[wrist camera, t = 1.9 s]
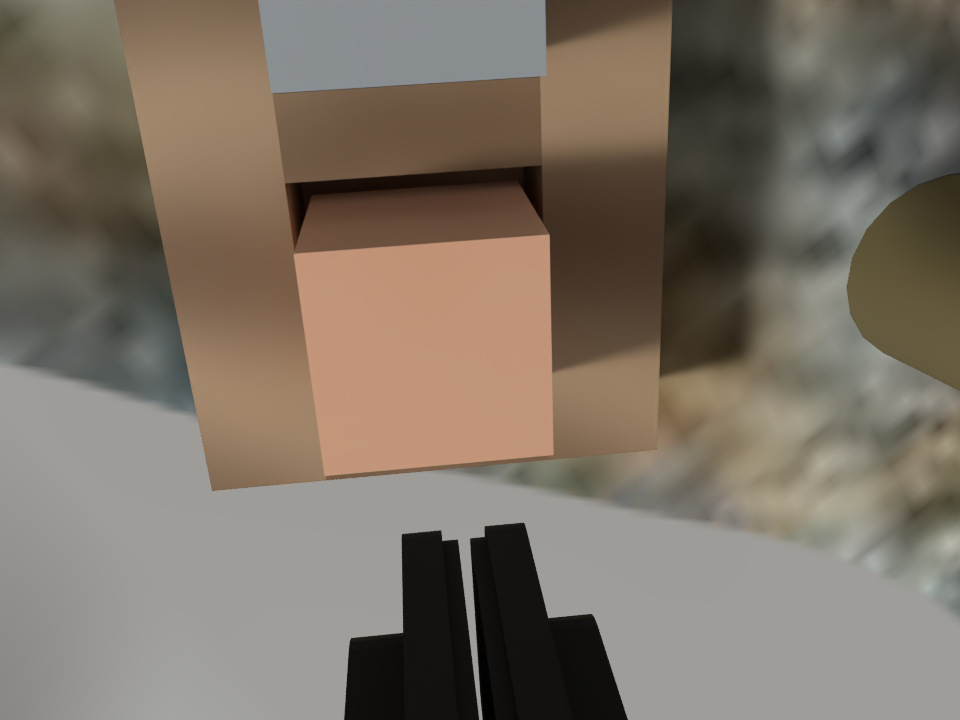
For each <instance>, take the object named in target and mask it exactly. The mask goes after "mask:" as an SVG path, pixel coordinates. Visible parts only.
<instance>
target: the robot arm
mask: <svg viewBox="0 0 960 720" xmlns="http://www.w3.org/2000/svg"><path fill="white" fill-rule="evenodd" d="M470 545H471V560H472V575H473V589H474V590H473V591H474V606H475V619H476V620H475V621H476V635H477V649H478V650H477V651H478V666H479V681H480V696H481V707H482V717H483V720H628V719H627V716H626V713H625V710H624V707H623V704H622V700H621V697H620V695H619V691H618V688H617V685H616V682H615V679H614V676H613V673H612V670H611V666H610V663H609V660H608V657H607V654H606V651H605V647H604V644H603V641H602V638H601V635H600V632H599V629H598V626H597V623H596V621H595V618H594V616H593V615H592V614H587V615H578V616H567V617H557V618H548V616H547V612H546V607H545V604H544V599H543V595H542V591H541V587H540V583H539V579H538V575H537V571H536V567H535V563H534V559H533V555H532V551H531V547H530V543H529V538H528V534H527V531H526V527H525V524H524V523H516V524H505V525H495V526H485V537H480V538H471V539H470ZM402 582H403V633H399V634H388V635H378V636H368V637H359V638H351V640H350V645H349V658H348V673H347V687H346V703H345V718H344V720H479V715H478V706H477V698H476V689H475V681H474V673H473V664H472V656H471V647H470V638H469V630H468V621H467V613H466V605H465V596H464V588H463V579H462V571H461V562H460V554H459V545H458V540H449V541H442V534H441V531H430V532H419V533H409V534H402Z"/></svg>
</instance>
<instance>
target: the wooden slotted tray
mask: <svg viewBox="0 0 960 720" xmlns="http://www.w3.org/2000/svg"><path fill="white" fill-rule="evenodd" d="M114 3H115V8H116V13H117V18H118V23H119V28H120V33H121V38H122V43H123V48H124V53H125V58H126V63H127V68H128V73H129V78H130V83H131V88H132V93H133V98H134V103H135V108H136V113H137V118H138V123H139V128H140V133H141V138H142V143H143V148H144V153H145V158H146V163H147V168H148V173H149V178H150V183H151V188H152V193H153V198H154V203H155V208H156V213H157V218H158V223H159V228H160V233H161V238H162V243H163V248H164V253H165V258H166V263H167V268H168V273H169V277H170V282H171V287H172V292H173V297H174V302H175V307H176V312H177V317H178V322H179V327H180V332H181V337H182V342H183V347H184V352H185V357H186V362H187V367H188V372H189V377H190V382H191V387H192V392H193V397H194V402H195V407H196V412H197V417H198V422H199V427H200V432H201V437H202V442H203V447H204V452H205V457H206V462H207V467H208V471H209V477H210V482H211V487H212V491H215V490H225V489H235V488H236V489H237V488H248V487H257V486H269V485H279V484H291V483H302V482H312V481H322V480H334V479H345V478H356V477H367V476H378V475H388V474H399V473H410V472H421V471H432V470H443V469H454V468H464V467H475V466H486V465H497V464H508V463H519V462H529V461H540V460H551V459H562V458H573V457H584V456H595V455H605V454H616V453H627V452H638V451H649V450H657V426H658V398H659V370H660V342H661V313H662V285H663V257H664V229H665V200H666V172H667V144H668V116H669V87H670V59H671V31H672V3H673V0H545V13H546V68H547V76H539V77H523V78H507V79H491V80H476V81H460V82H444V83H428V84H413V85H397V86H381V87H365V88H350V89H334V90H318V91H302V92H287V93H271V89H270V82H269V75H268V68H267V61H266V53H265V46H264V39H263V32H262V25H261V18H260V10H259V3H258V0H114ZM516 180H517V181H518V183H519V184H520V186H521V188H522V189H523V191H524V193H525V194H526V196H527V198H528V199H529V201H530V203H531V204H532V206H533V208H534V209H535V211H536V213H537V214H538V216H539V218H540V219H541V221H542V223H543V224H544V226H545V228H546V229H547V231H548V233H549V234H550V286H551V341H552V395H553V450H554V455H549V456H538V457H527V458H516V459H505V460H494V461H483V462H473V463H462V464H451V465H440V466H429V467H418V468H407V469H396V470H385V471H375V472H364V473H353V474H342V475H331V476H324V469H323V462H322V455H321V447H320V440H319V433H318V426H317V419H316V412H315V404H314V397H313V390H312V383H311V376H310V369H309V361H308V354H307V347H306V340H305V333H304V326H303V318H302V311H301V304H300V297H299V290H298V283H297V275H296V268H295V261H294V251H295V247H296V244H297V241H298V238H299V235H300V231H301V228H302V225H303V222H304V219H305V216H306V212H307V209H308V206H309V203H310V200H311V196H312V195H319V194H333V193H347V192H361V191H375V190H389V189H403V188H417V187H431V186H445V185H459V184H473V183H488V182H502V181H516Z"/></svg>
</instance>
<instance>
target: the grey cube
mask: <svg viewBox="0 0 960 720" xmlns="http://www.w3.org/2000/svg"><path fill="white" fill-rule="evenodd" d="M258 3H259V10H260V18H261V25H262V32H263V39H264V46H265V53H266V61H267V68H268V75H269V82H270V89H271V93H287V92H302V91H318V90H334V89H350V88H365V87H381V86H397V85H413V84H428V83H444V82H460V81H476V80H491V79H507V78H523V77H539V76H547V68H546V13H545V0H258Z"/></svg>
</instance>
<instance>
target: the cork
mask: <svg viewBox="0 0 960 720" xmlns="http://www.w3.org/2000/svg"><path fill="white" fill-rule="evenodd" d="M847 293H848V300H849V307H850V314H851V316H852V318H853V320H854V322H855V323H856V325H857V327H858V329H859V331H860V332H861V334H862V336H863V337H864V338H865V339H866V340H868V341H869V342H870V343H871V344H873V345H874V346H875V347H876V348H878V349H879V350H880V351H881V352H883V353H885V354H887V355H889V356H891V357H893V358H895V359H897V360H899V361H901V362H903V363H905V364H907V365H909V366H911V367H913V368H915V369H917V370H919V371H921V372H923V373H925V374H927V375H929V376H931V377H933V378H935V379H937V380H939V381H941V382H943V383H945V384H947V385H949V386H951V387H953V388H955V389H957V390H959V391H960V175H947V176H944V177H941V178H938V179H935V180H932V181H928V182H925V183H922V184H919V185H917V186H916V187H914V188H913V189H911V190H910V191H908V192H907V193H905V194H904V195H902V196H901V197H899V198H898V199H896V200H895V201H893V202H892V203H890V204H889V205H888V206H887V207H886V208H885V210H884V211H883V212H882V213H881V214H880V215H879V216H878V217H877V218H876V220H875V221H874V222H873V223H872V224H871V225H870V226H869V227H868V228H867V230H866V232H865V234H864V236H863V238H862V240H861V242H860V244H859V246H858V248H857V250H856V252H855V254H854V256H853V258H852V262H851V268H850V273H849V278H848V284H847Z"/></svg>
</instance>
